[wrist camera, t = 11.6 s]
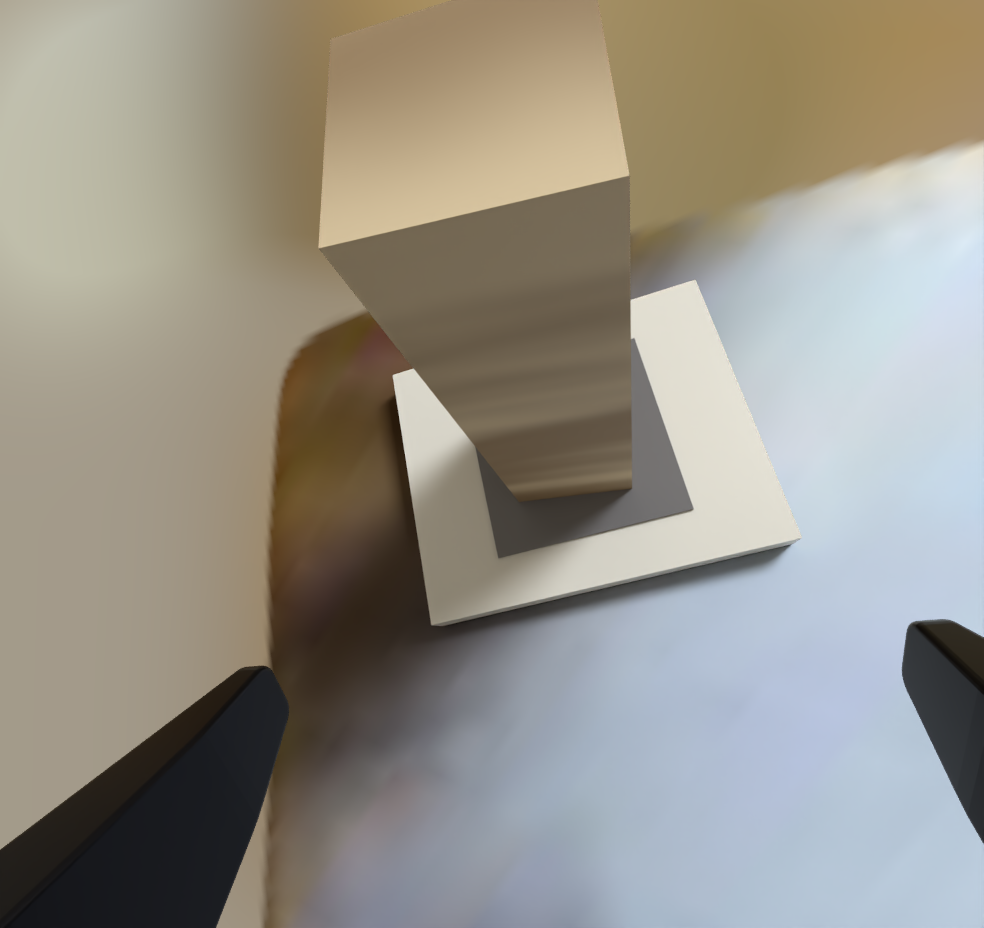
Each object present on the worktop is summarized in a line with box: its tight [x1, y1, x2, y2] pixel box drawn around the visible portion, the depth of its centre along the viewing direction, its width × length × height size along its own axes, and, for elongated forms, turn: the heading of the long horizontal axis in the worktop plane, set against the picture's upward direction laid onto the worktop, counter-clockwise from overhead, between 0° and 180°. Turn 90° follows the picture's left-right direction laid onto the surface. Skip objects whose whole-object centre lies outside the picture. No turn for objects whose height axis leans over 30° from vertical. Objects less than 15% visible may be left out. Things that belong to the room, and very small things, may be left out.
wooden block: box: [319, 0, 632, 502], centre depth 12 cm, size 4×4×12 cm
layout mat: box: [393, 280, 802, 626], centre depth 18 cm, size 11×9×1 cm
